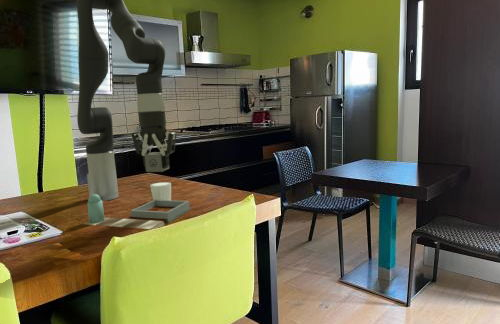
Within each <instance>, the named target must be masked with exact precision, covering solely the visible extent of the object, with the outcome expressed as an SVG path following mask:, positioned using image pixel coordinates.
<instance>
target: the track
mask: <svg viewBox="0 0 500 324" xmlns="http://www.w3.org/2000/svg"><path fill="white" fill-rule="evenodd" d="M83 225H89V226H104V227H117V228H118V227H119V228H130V229H143V230H151V229H155V228H158V227H160V228H162V227H164V226H165V223H164V221H163V220H151V219H149V220H148V219H135V218H117V217H106V216H104V221H102V222H98V223H90V222H89V221H86V222H84V223H83Z"/></svg>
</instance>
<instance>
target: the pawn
mask: <svg viewBox="0 0 500 324" xmlns="http://www.w3.org/2000/svg"><path fill="white" fill-rule="evenodd" d="M103 202H104V201H102V200H101V198H100V196H99V195H97V194H92V195H90V197H88V201H87V202H86V205H87V214H88V222H90V223H98V222H102V221H104V217H105V212H104V203H103ZM98 224H99V223H98Z"/></svg>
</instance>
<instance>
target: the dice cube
mask: <svg viewBox="0 0 500 324" xmlns="http://www.w3.org/2000/svg"><path fill="white" fill-rule="evenodd" d="M145 165H146V168H145V172H147V173H155V172H156V173H157V172H161V173H163V172H165V171H167V170H169V169H170V165H169V166H168V168H166V169H163V168H162V154H161V152H160V151H158V152H157V151H154V152H150V153H149V154H146V155H145Z"/></svg>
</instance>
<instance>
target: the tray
mask: <svg viewBox="0 0 500 324" xmlns="http://www.w3.org/2000/svg"><path fill="white" fill-rule="evenodd" d="M154 207H167V208H168V207H169V208H170V207H171V209H169V210H168V211H157V210H156V211H155V210H150V209H153V208H154ZM190 211H191V208H190V201H189V200H172V199H171V200H153V199H152V200H151V201H149V202H146V203H145V204H142V205H140V206H137V207H136V208H132V209H131V210H130V217H131V218H145V219H158V220H159V219H162V220H164V221H163V222H164V224H169V223H171V222H173V221H174V220H176V219H178V218H180V217H181V216H183V215H185V214H187V213H188V212H190Z"/></svg>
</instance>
